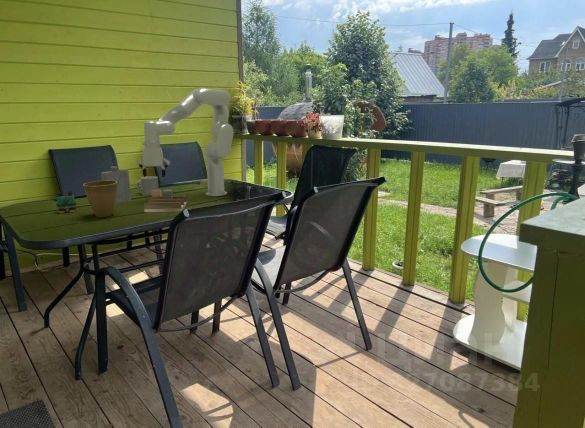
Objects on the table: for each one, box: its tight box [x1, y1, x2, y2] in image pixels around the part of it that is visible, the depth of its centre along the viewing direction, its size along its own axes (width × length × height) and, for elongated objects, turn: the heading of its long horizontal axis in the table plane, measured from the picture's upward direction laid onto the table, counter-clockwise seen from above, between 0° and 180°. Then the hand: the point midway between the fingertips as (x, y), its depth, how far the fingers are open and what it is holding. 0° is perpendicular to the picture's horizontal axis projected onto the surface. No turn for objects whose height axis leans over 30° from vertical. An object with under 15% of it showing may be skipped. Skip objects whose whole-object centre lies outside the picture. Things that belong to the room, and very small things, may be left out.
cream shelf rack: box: [143, 195, 188, 213], centre depth 226 cm, size 18×18×4 cm
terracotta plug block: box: [151, 189, 163, 198], centre depth 239 cm, size 4×4×7 cm
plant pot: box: [82, 180, 117, 218], centre depth 209 cm, size 15×15×16 cm
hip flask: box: [100, 165, 132, 205], centre depth 238 cm, size 16×4×20 cm, turn 146°
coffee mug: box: [135, 175, 160, 196], centre depth 264 cm, size 13×10×10 cm
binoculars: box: [56, 190, 77, 214], centre depth 220 cm, size 9×11×10 cm
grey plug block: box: [162, 189, 174, 199], centre depth 229 cm, size 4×4×7 cm
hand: (154, 176), depth 236 cm, fingers open, 9 cm apart
